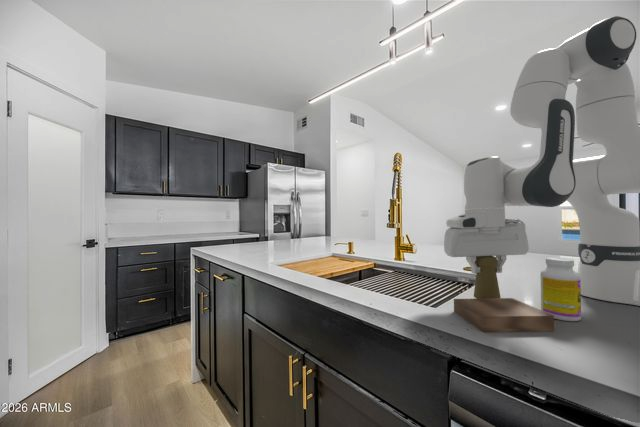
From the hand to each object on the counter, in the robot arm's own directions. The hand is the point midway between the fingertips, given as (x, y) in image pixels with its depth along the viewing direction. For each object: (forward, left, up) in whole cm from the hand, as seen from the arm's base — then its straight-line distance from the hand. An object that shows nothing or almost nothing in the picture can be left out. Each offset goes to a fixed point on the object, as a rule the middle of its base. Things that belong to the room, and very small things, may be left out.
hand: (486, 272), depth 68 cm
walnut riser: (+5, +11, -8) cm, 14 cm away
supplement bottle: (-10, +10, -8) cm, 16 cm away
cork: (0, 0, -7) cm, 7 cm away
